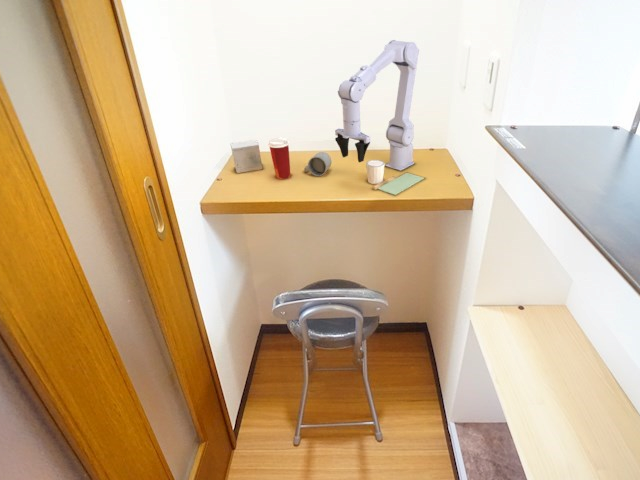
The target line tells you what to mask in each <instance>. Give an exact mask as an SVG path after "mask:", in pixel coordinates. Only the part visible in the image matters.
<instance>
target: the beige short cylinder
mask: <svg viewBox="0 0 640 480" xmlns="http://www.w3.org/2000/svg"><path fill="white" fill-rule="evenodd" d="M385 165H386V163H385V161H383V160H381V159H371V160H368V161H366V162H365V167H366V176H367V182H368V183H369V184H372V185H377V184H379V183H381V182H383V181H384V174H385Z"/></svg>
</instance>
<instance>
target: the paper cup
mask: <svg viewBox="0 0 640 480" xmlns="http://www.w3.org/2000/svg"><path fill="white" fill-rule="evenodd" d="M289 145H290V142H289V140H288V139H287V138H285V137H276V138H271V139H270V140H269V142H268V145H267V146H268V147H269V151H270V154H271V160H272V165H273V170H274V174H275V178H277V179H279V180H286V179H289V178H290V177H291V160H290V149H289V148H290V147H289Z"/></svg>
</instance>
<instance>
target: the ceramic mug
mask: <svg viewBox="0 0 640 480" xmlns="http://www.w3.org/2000/svg"><path fill="white" fill-rule="evenodd" d="M331 165H332V157H331V156H330V154H328V153H327V152H324V151H321V152H317V153H316V154H314V155H313V156H312V157H310V159H309V160H308V163H307V165H306V166H305V167H303V170H304V172H305V173H308V172H309V173H310V174H312V175H313V176H315V177H321V176H324V175H325V174H326V173H327V172H328V170H329V169H331V168H330V167H331Z"/></svg>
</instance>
